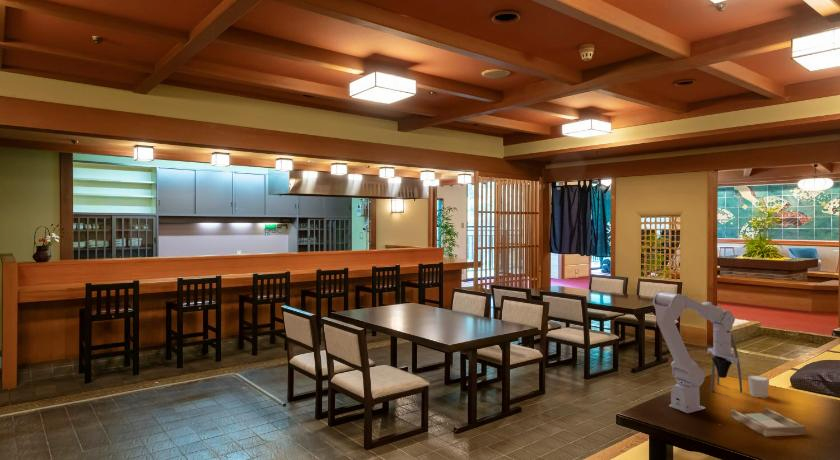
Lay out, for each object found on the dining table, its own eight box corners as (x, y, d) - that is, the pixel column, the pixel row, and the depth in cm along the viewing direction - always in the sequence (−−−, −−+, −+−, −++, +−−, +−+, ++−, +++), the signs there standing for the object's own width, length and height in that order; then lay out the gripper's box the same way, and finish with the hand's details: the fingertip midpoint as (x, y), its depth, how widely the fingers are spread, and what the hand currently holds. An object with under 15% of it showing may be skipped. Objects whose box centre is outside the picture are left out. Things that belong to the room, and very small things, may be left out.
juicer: (742, 392, 201) (741, 317, 200) (711, 391, 203) (710, 316, 202) (732, 384, 210) (732, 312, 210) (703, 383, 213) (702, 312, 212)
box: (731, 416, 178) (731, 409, 178) (767, 414, 179) (767, 407, 179) (765, 436, 162) (765, 428, 162) (805, 434, 163) (805, 426, 163)
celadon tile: (744, 419, 176) (744, 413, 176) (760, 418, 177) (760, 413, 177) (757, 426, 170) (757, 420, 170) (774, 425, 171) (774, 419, 171)
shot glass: (768, 394, 199) (768, 376, 198) (769, 400, 193) (769, 381, 193) (748, 391, 202) (747, 374, 202) (748, 396, 196) (748, 379, 196)
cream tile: (757, 426, 170) (756, 420, 170) (773, 425, 171) (773, 419, 171) (770, 434, 164) (770, 428, 164) (788, 433, 165) (788, 427, 165)
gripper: (745, 345, 184) (746, 382, 185) (719, 336, 199) (719, 370, 199) (727, 346, 184) (727, 383, 184) (702, 337, 198) (702, 371, 199)
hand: (722, 377), depth 192 cm, fingers closed
